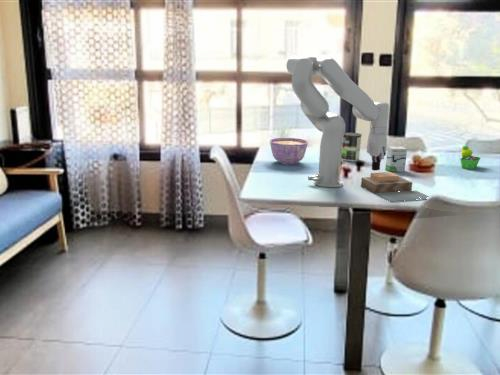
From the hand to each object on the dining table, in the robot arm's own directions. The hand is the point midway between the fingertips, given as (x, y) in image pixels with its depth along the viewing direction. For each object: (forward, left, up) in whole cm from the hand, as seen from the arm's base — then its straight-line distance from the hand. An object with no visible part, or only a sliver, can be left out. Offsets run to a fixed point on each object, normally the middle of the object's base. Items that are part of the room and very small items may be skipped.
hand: (375, 169), depth 237 cm
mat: (0, -23, -6) cm, 24 cm away
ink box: (+22, +19, -6) cm, 30 cm away
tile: (-1, -9, -2) cm, 9 cm away
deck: (-1, -11, -6) cm, 13 cm away
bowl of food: (-26, +45, -6) cm, 52 cm away
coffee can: (+11, +47, -6) cm, 49 cm away
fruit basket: (+65, +18, -6) cm, 68 cm away
